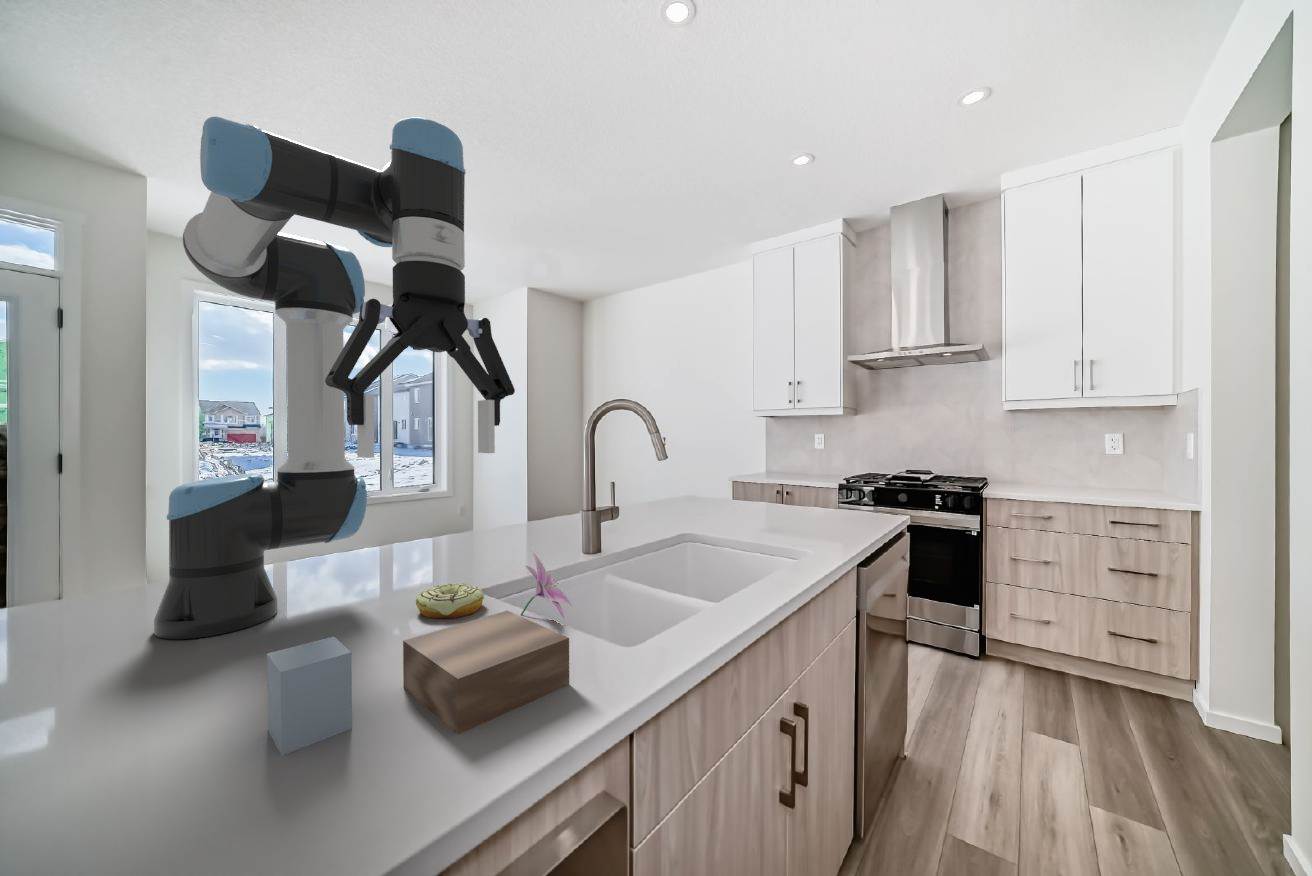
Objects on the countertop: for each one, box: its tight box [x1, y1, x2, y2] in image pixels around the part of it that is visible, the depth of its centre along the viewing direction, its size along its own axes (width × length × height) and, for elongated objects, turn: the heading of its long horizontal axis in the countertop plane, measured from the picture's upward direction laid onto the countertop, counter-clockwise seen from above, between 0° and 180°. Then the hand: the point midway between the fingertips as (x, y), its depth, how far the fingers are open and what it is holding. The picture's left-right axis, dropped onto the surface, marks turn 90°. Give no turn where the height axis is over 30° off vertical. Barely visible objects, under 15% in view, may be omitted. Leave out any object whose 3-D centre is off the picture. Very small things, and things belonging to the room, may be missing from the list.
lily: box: [520, 550, 573, 621], centre depth 86 cm, size 12×12×10 cm
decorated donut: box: [415, 582, 485, 619], centre depth 88 cm, size 10×11×4 cm
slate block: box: [266, 636, 353, 756], centre depth 53 cm, size 6×6×8 cm
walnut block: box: [402, 610, 570, 735], centre depth 62 cm, size 14×14×6 cm
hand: (431, 455), depth 59 cm, fingers open, 13 cm apart
